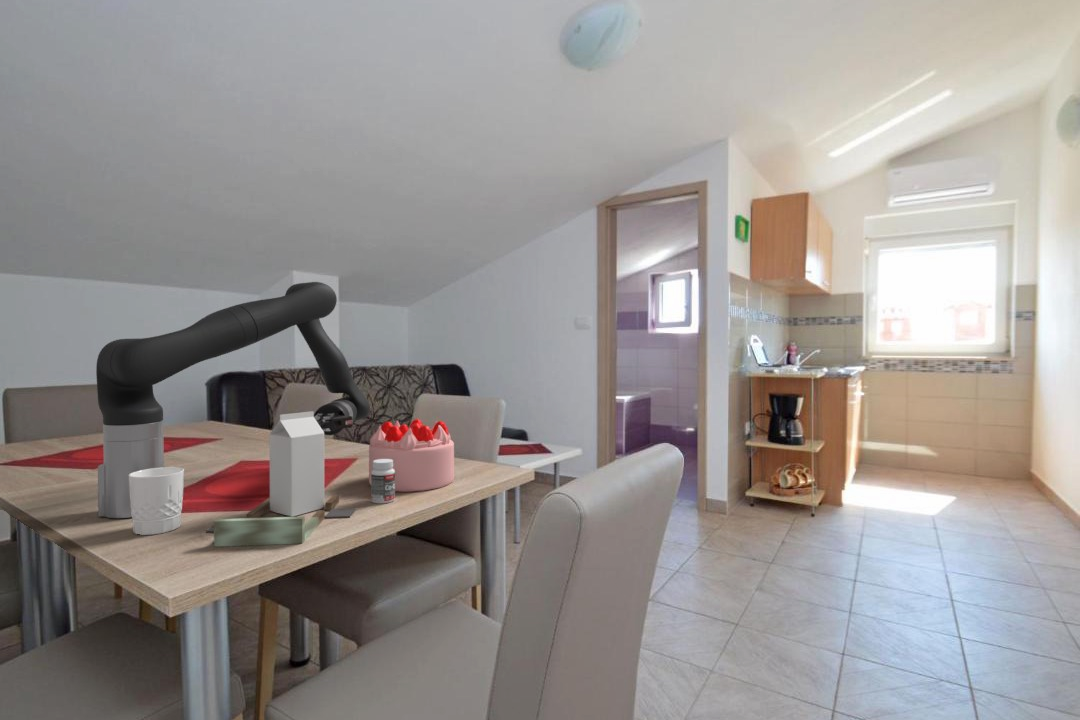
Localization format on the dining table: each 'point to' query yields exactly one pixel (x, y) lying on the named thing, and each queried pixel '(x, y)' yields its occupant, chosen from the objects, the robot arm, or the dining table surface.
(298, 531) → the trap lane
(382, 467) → the pill bottle
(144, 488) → the white cup
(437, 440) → the cake
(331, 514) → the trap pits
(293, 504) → the milk carton
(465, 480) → the dining table surface
